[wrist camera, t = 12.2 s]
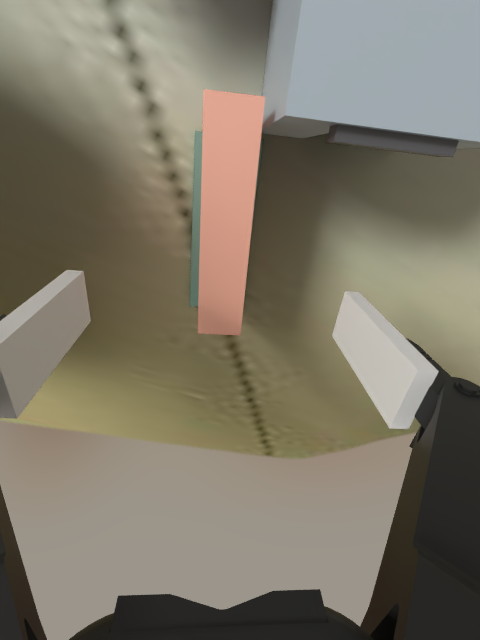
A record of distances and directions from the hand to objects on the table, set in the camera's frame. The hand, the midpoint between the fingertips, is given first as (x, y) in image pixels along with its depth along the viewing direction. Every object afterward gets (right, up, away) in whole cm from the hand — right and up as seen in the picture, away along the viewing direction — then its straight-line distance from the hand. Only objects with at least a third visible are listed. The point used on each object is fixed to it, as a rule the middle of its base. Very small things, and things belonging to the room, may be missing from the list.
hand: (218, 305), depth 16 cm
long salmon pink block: (0, +10, +14) cm, 17 cm away
